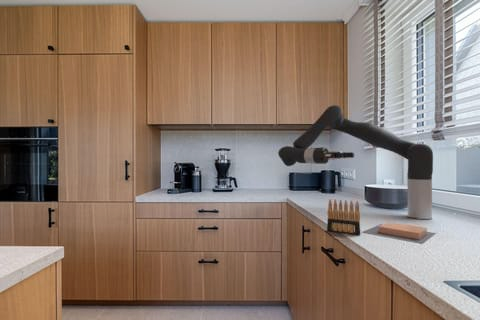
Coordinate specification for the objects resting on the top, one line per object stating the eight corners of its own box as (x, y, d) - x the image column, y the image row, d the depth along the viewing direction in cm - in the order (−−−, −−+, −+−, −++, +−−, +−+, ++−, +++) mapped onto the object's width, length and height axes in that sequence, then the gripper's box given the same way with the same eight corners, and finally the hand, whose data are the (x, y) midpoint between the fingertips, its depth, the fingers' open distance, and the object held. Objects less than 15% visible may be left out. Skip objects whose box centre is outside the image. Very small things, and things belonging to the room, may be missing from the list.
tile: (388, 222, 101) (427, 227, 92) (388, 227, 101) (427, 234, 92) (378, 226, 94) (419, 233, 85) (378, 232, 94) (419, 240, 85)
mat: (380, 225, 106) (380, 224, 106) (436, 234, 93) (436, 233, 93) (361, 234, 94) (361, 232, 94) (422, 245, 81) (422, 243, 81)
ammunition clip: (326, 233, 95) (326, 198, 95) (328, 231, 97) (328, 198, 97) (359, 237, 90) (359, 201, 90) (360, 236, 92) (360, 200, 92)
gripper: (308, 147, 122) (346, 145, 110) (323, 148, 131) (359, 146, 119) (308, 163, 122) (346, 164, 110) (323, 163, 131) (359, 163, 119)
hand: (353, 155), depth 114 cm, fingers closed
